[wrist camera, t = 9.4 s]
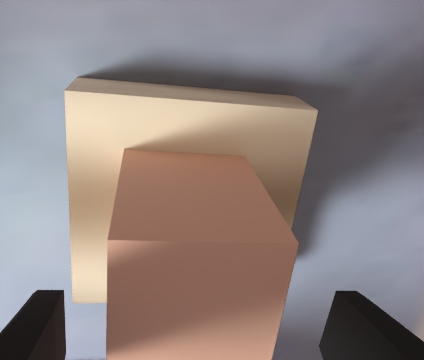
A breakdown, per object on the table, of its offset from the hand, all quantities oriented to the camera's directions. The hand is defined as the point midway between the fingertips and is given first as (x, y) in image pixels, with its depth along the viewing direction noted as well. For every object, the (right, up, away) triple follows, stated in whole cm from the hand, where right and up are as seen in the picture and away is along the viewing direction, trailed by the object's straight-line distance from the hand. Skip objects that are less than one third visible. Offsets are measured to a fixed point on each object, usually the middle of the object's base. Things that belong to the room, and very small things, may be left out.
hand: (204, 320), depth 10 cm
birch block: (-1, +4, +8) cm, 9 cm away
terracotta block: (-1, +3, +5) cm, 6 cm away
